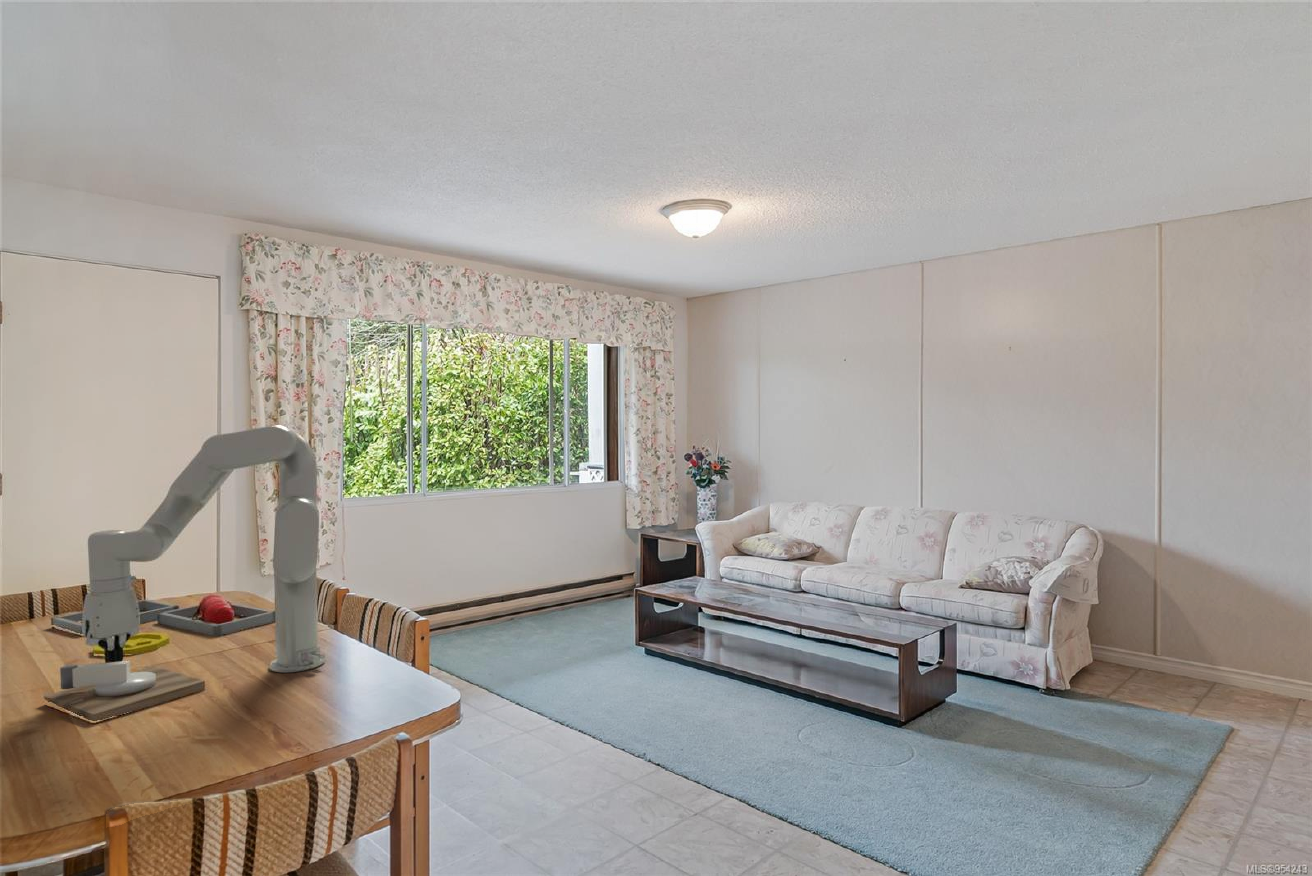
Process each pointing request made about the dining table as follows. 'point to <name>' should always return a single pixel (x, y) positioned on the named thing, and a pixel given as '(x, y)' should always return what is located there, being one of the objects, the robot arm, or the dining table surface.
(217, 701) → the dining table surface
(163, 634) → the decorative disc
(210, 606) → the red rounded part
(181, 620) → the tray
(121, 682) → the dial
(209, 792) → the dining table surface
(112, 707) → the dial plate
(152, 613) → the tray
